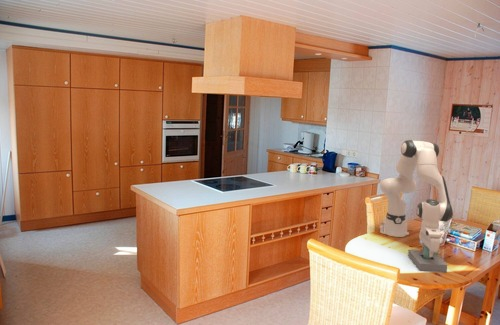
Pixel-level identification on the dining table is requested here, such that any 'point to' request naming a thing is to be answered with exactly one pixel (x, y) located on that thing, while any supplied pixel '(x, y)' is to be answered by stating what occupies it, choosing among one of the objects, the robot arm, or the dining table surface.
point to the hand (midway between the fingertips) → (427, 253)
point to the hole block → (427, 261)
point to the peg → (426, 253)
